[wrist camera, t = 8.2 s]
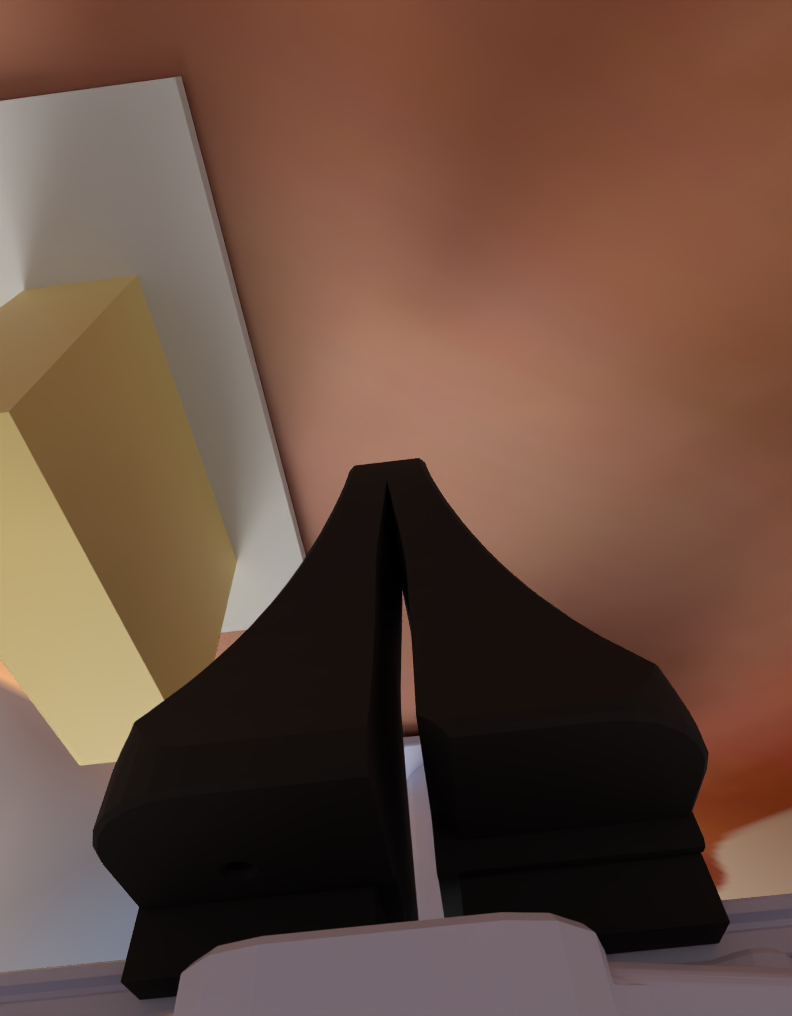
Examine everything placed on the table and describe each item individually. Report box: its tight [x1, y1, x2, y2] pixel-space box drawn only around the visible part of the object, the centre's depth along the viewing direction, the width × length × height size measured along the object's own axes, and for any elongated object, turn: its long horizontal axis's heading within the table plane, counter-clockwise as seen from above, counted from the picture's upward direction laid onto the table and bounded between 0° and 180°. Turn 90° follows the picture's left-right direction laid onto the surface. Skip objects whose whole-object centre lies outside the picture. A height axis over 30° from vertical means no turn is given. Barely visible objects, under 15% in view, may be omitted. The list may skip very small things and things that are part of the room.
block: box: [0, 275, 237, 765], centre depth 13 cm, size 8×2×6 cm, turn 6°
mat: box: [0, 76, 306, 632], centre depth 16 cm, size 14×12×1 cm
